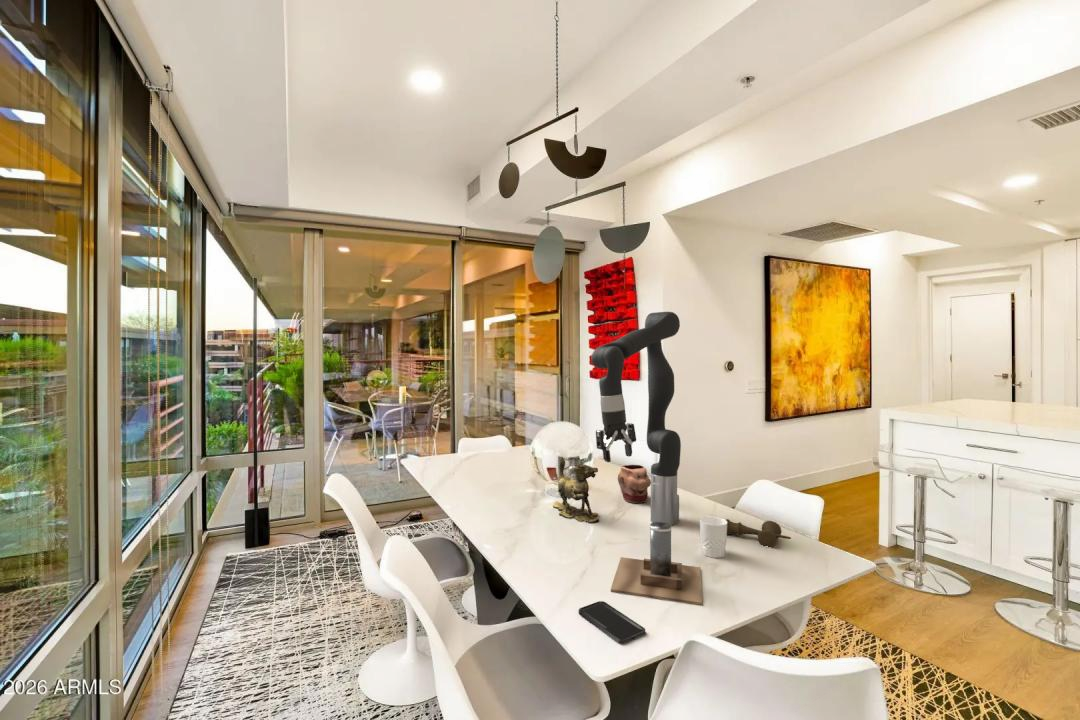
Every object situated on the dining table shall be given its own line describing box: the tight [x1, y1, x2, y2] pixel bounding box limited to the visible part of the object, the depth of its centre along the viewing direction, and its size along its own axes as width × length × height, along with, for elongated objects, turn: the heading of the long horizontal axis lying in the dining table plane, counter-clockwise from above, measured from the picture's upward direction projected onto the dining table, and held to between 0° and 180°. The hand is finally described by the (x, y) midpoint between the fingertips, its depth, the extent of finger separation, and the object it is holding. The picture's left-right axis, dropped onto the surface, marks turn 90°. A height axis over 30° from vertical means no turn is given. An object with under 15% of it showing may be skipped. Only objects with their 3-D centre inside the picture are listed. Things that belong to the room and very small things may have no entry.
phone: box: [578, 600, 646, 645], centre depth 107 cm, size 8×1×15 cm
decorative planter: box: [617, 464, 651, 504], centre depth 198 cm, size 20×12×14 cm, turn 22°
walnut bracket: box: [610, 556, 703, 606], centre depth 127 cm, size 22×20×3 cm
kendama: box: [725, 518, 792, 548], centre depth 155 cm, size 6×10×20 cm
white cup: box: [699, 515, 728, 559], centre depth 145 cm, size 8×8×10 cm
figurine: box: [552, 456, 600, 524], centre depth 181 cm, size 13×25×20 cm, turn 32°
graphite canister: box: [649, 522, 672, 577], centre depth 127 cm, size 6×6×14 cm
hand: (618, 458), depth 153 cm, fingers open, 8 cm apart
